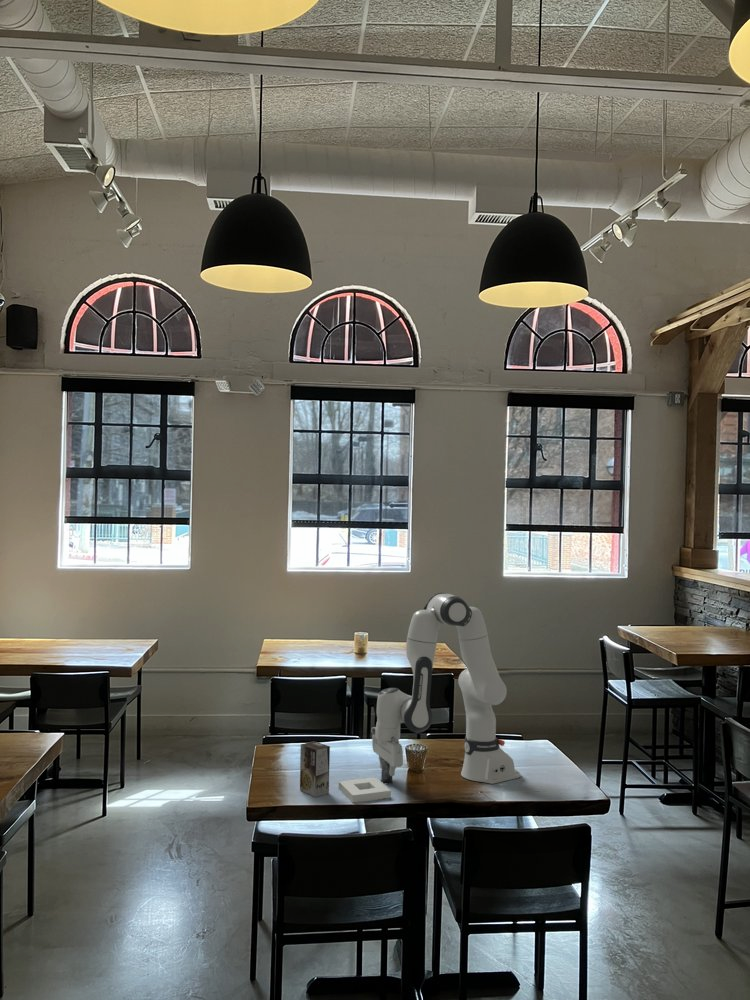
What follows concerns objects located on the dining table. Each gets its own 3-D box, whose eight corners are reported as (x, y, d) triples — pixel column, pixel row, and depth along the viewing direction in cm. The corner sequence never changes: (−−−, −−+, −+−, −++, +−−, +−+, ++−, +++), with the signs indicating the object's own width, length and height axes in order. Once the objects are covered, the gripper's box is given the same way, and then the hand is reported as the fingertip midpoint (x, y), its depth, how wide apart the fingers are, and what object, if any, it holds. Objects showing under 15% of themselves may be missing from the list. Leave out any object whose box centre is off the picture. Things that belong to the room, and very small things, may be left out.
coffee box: (329, 793, 259) (330, 746, 259) (315, 797, 254) (316, 749, 255) (313, 786, 266) (314, 740, 266) (298, 790, 261) (300, 743, 262)
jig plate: (375, 784, 269) (375, 777, 269) (390, 797, 256) (390, 790, 256) (338, 788, 263) (338, 781, 263) (352, 802, 250) (352, 795, 251)
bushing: (389, 779, 274) (390, 757, 274) (394, 783, 270) (394, 760, 271) (379, 780, 273) (380, 758, 273) (383, 784, 269) (384, 762, 269)
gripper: (407, 740, 264) (407, 780, 263) (385, 725, 283) (384, 762, 282) (391, 742, 261) (390, 782, 261) (369, 727, 280) (368, 764, 280)
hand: (387, 771), depth 272 cm, fingers open, 6 cm apart
